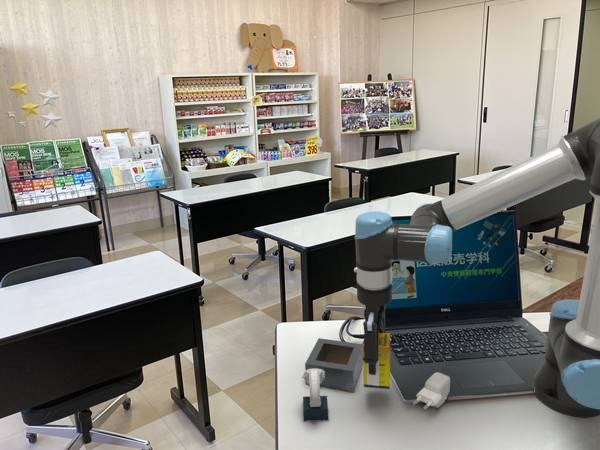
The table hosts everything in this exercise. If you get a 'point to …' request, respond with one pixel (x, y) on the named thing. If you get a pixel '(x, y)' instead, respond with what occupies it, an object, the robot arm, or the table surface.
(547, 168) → the robot arm
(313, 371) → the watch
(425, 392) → the power adapter
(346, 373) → the hollow block
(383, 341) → the supplement box
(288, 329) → the table surface
